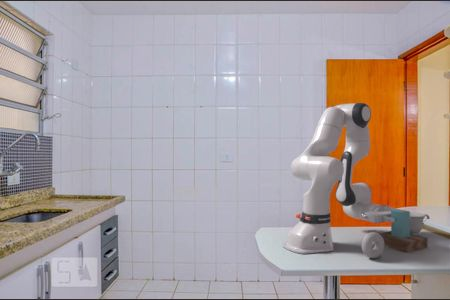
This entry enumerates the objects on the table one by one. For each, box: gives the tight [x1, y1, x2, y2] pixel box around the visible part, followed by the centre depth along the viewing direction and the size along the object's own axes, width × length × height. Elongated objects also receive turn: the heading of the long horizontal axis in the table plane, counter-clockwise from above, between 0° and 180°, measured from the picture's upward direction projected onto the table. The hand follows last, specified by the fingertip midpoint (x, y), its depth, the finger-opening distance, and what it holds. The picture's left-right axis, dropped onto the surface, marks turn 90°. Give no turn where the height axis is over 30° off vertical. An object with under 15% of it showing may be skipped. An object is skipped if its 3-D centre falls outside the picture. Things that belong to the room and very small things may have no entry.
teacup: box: [410, 211, 431, 236], centre depth 145 cm, size 12×15×10 cm
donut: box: [361, 231, 386, 259], centre depth 113 cm, size 10×4×10 cm, turn 109°
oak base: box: [378, 230, 428, 253], centre depth 128 cm, size 14×14×4 cm
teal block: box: [390, 208, 411, 238], centre depth 128 cm, size 5×5×11 cm
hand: (402, 219), depth 127 cm, fingers open, 8 cm apart
